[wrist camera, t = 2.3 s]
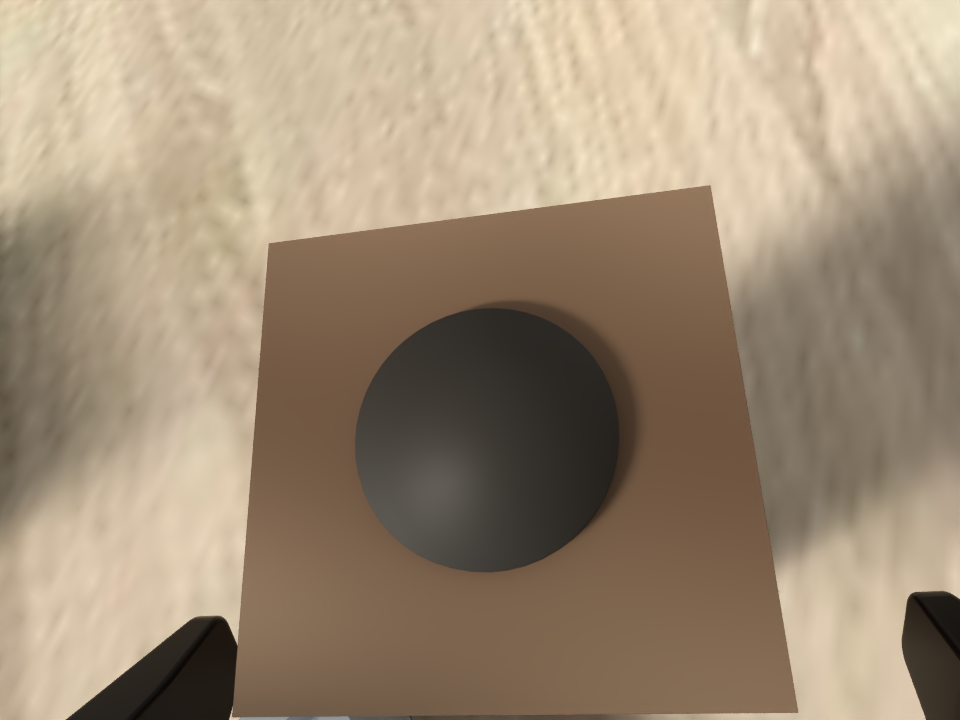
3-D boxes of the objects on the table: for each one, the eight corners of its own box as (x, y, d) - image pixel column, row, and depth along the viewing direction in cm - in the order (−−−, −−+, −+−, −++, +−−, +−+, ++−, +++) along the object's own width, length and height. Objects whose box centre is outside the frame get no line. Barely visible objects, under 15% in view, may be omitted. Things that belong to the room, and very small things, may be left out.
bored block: (677, 636, 17) (802, 715, 5) (493, 641, 18) (221, 719, 6) (655, 453, 19) (713, 176, 7) (487, 465, 20) (262, 236, 7)
